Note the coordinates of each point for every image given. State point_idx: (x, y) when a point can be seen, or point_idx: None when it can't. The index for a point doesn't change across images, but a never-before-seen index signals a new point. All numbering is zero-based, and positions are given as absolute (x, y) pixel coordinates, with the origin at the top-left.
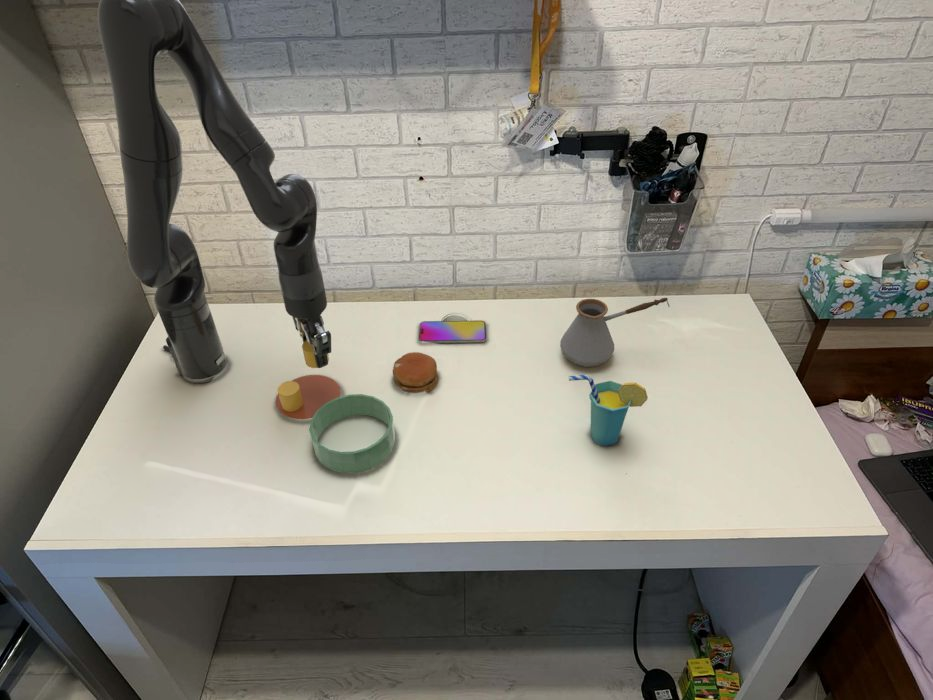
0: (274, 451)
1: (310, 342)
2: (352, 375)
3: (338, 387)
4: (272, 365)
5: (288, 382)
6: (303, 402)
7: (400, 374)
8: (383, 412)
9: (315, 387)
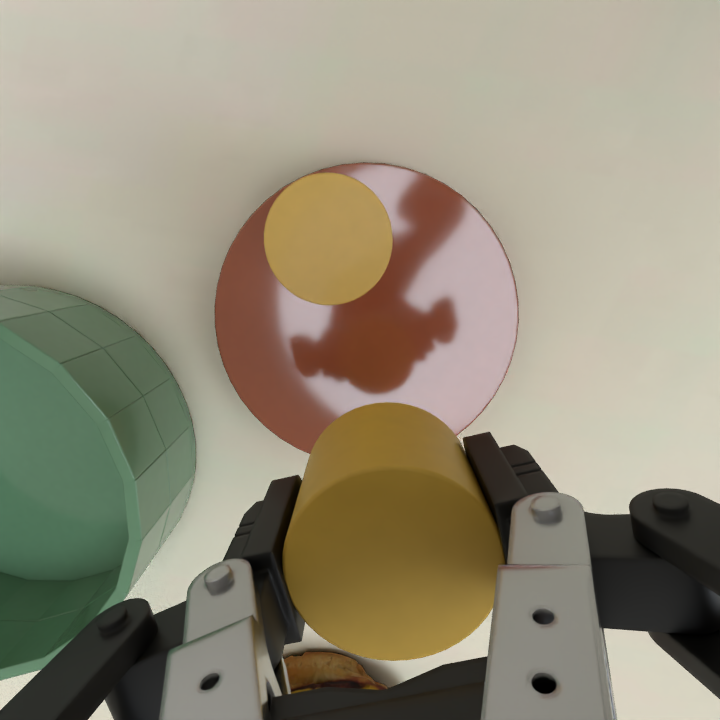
0: (87, 112)
1: (166, 671)
2: None
3: None
4: (693, 189)
5: (379, 249)
6: None
7: None
8: (63, 619)
9: (412, 365)
